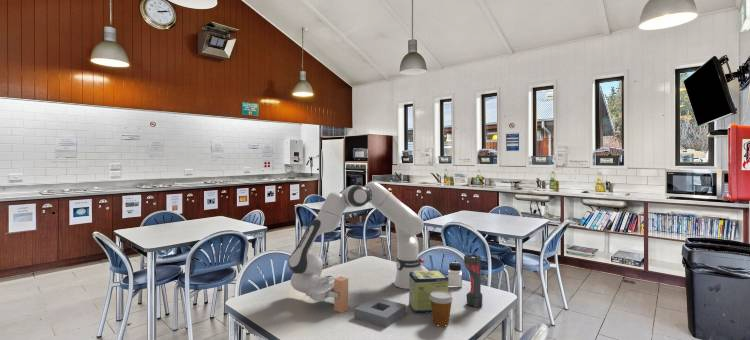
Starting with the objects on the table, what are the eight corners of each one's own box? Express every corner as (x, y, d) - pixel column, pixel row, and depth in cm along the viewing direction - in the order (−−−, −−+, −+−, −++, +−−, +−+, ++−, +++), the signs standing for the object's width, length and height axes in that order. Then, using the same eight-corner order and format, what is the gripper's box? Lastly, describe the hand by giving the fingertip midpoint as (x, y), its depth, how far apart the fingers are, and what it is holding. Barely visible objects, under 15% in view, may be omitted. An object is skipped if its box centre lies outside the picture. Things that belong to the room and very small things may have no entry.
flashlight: (461, 301, 177) (461, 253, 176) (477, 301, 178) (477, 253, 177) (466, 308, 169) (467, 257, 168) (483, 307, 170) (484, 257, 169)
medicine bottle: (461, 288, 195) (462, 265, 194) (447, 287, 196) (448, 264, 196) (461, 283, 202) (461, 261, 201) (448, 282, 203) (448, 260, 203)
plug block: (340, 307, 169) (340, 276, 169) (348, 309, 167) (348, 278, 166) (334, 310, 165) (334, 279, 165) (341, 312, 163) (342, 281, 163)
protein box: (448, 312, 165) (449, 277, 164) (414, 314, 162) (414, 278, 162) (440, 303, 175) (441, 270, 174) (408, 304, 172) (408, 271, 172)
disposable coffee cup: (426, 318, 158) (427, 290, 157) (448, 318, 158) (449, 290, 158) (432, 329, 148) (432, 299, 148) (455, 328, 149) (456, 298, 149)
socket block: (375, 305, 171) (375, 296, 171) (406, 313, 162) (406, 304, 162) (354, 317, 158) (354, 308, 158) (386, 327, 149) (386, 317, 149)
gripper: (303, 286, 164) (327, 293, 157) (333, 274, 181) (356, 279, 174) (303, 300, 164) (327, 308, 157) (333, 287, 181) (356, 293, 174)
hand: (342, 293), depth 165 cm, fingers closed on plug block, 4 cm apart
